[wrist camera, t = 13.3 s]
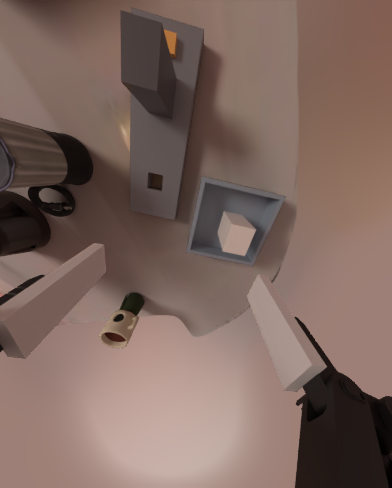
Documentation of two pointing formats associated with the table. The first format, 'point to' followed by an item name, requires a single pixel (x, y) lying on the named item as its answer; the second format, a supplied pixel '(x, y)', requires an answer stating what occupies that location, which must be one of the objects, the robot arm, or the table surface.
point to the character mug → (122, 322)
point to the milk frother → (42, 163)
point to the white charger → (235, 233)
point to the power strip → (165, 126)
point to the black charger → (147, 64)
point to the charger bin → (235, 201)
